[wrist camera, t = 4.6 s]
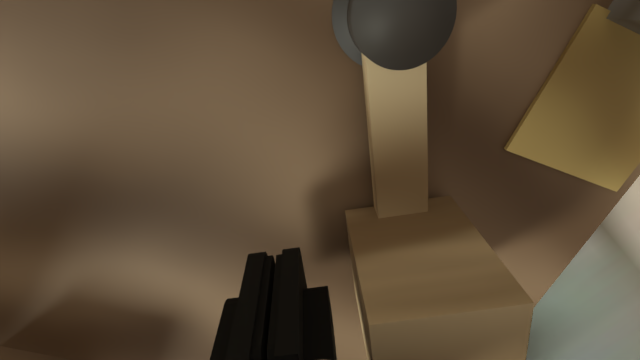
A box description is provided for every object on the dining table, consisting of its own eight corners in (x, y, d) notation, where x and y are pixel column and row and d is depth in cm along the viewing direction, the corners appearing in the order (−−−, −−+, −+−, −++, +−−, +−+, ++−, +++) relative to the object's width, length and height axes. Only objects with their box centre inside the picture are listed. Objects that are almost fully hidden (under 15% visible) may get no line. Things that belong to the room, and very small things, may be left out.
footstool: (387, 442, 22) (422, 615, 16) (6, 371, 18) (-151, 564, 12) (682, 37, 13) (1051, 68, 7) (29, -288, 9) (-631, -998, 3)
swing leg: (315, -26, 10) (328, -55, 5) (454, -47, 9) (594, -96, 5) (354, 291, 14) (380, 425, 10) (448, 278, 14) (518, 407, 10)
